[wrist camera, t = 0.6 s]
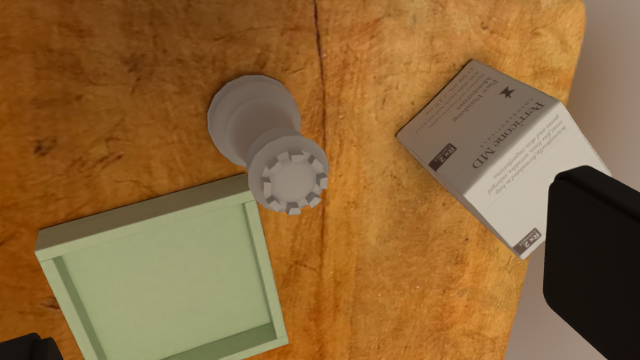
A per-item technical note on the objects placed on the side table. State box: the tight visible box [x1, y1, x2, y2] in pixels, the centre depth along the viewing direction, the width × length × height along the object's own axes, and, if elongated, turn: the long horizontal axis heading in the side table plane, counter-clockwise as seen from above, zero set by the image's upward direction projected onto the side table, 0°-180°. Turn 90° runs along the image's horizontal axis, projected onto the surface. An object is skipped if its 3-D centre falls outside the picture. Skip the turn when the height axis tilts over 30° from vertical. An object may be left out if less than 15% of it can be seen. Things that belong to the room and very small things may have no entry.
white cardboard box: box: [397, 60, 611, 260], centre depth 30 cm, size 6×6×7 cm
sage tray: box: [35, 173, 289, 360], centre depth 30 cm, size 10×10×2 cm
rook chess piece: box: [207, 75, 329, 215], centre depth 25 cm, size 4×4×8 cm
